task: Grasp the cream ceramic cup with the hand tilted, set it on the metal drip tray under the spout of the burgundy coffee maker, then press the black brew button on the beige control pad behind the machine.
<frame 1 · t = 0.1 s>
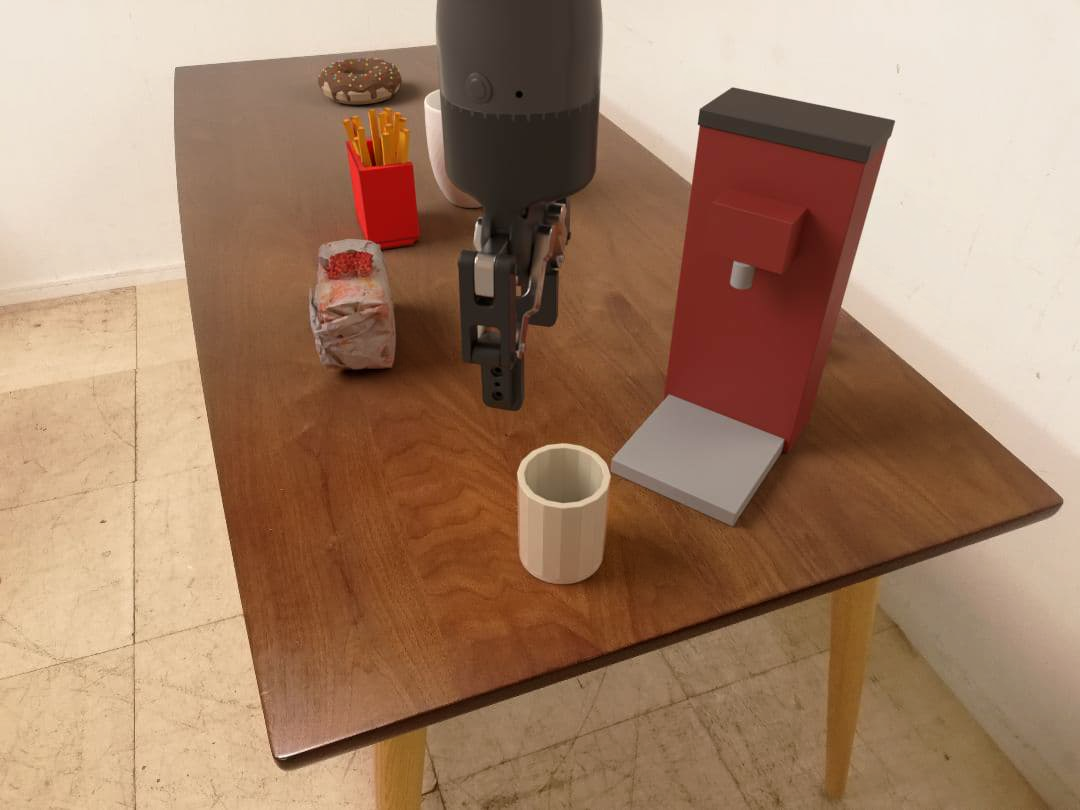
hand: (522, 361, 48), 19 cm above the table, tool pointing down, fingers open, 8 cm apart
cream cup: (561, 550, 62), on the table
food item: (358, 342, 83), on the table
donut: (364, 96, 141), on the table
brew pad: (749, 335, 84), on the table
coffee maker: (710, 444, 71), on the table
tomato: (488, 93, 142), on the table
mug: (474, 195, 110), on the table
brew button: (757, 297, 82), point 4 cm above the table, slide at 0.1 cm
french fries container: (389, 233, 102), on the table
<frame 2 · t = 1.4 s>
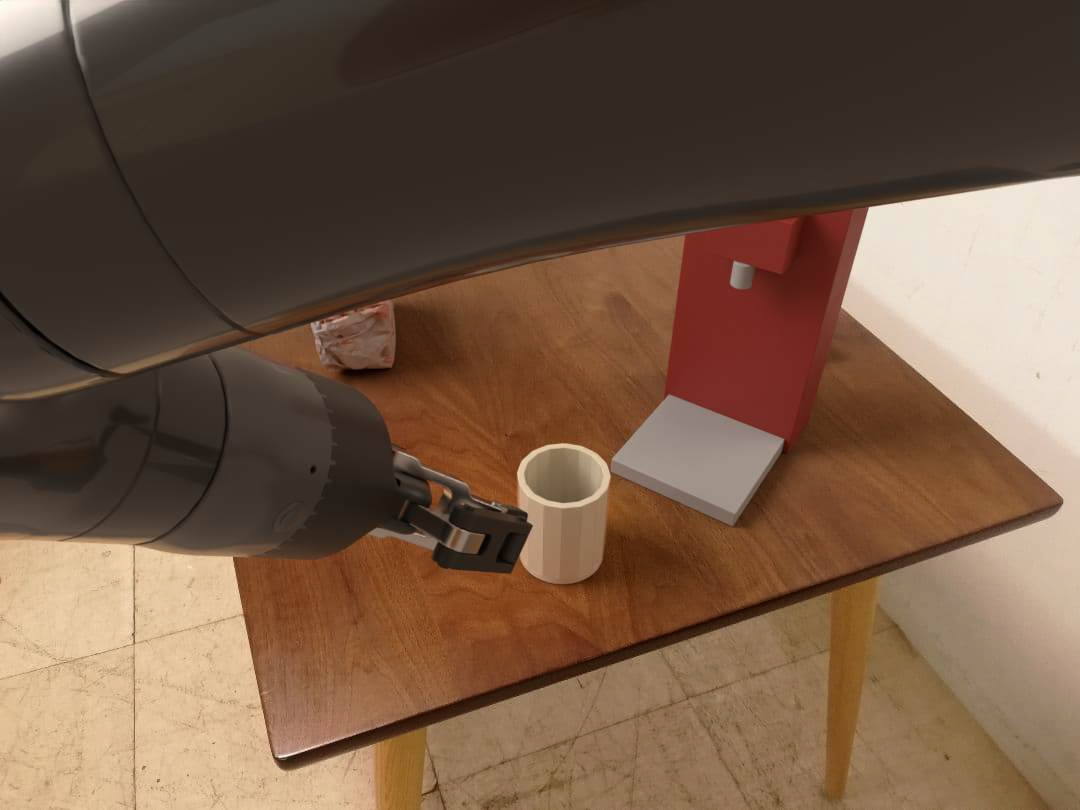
hand: (453, 495, 45), 15 cm above the table, tool tilted 45°, fingers open, 8 cm apart
nothing on the table moved.
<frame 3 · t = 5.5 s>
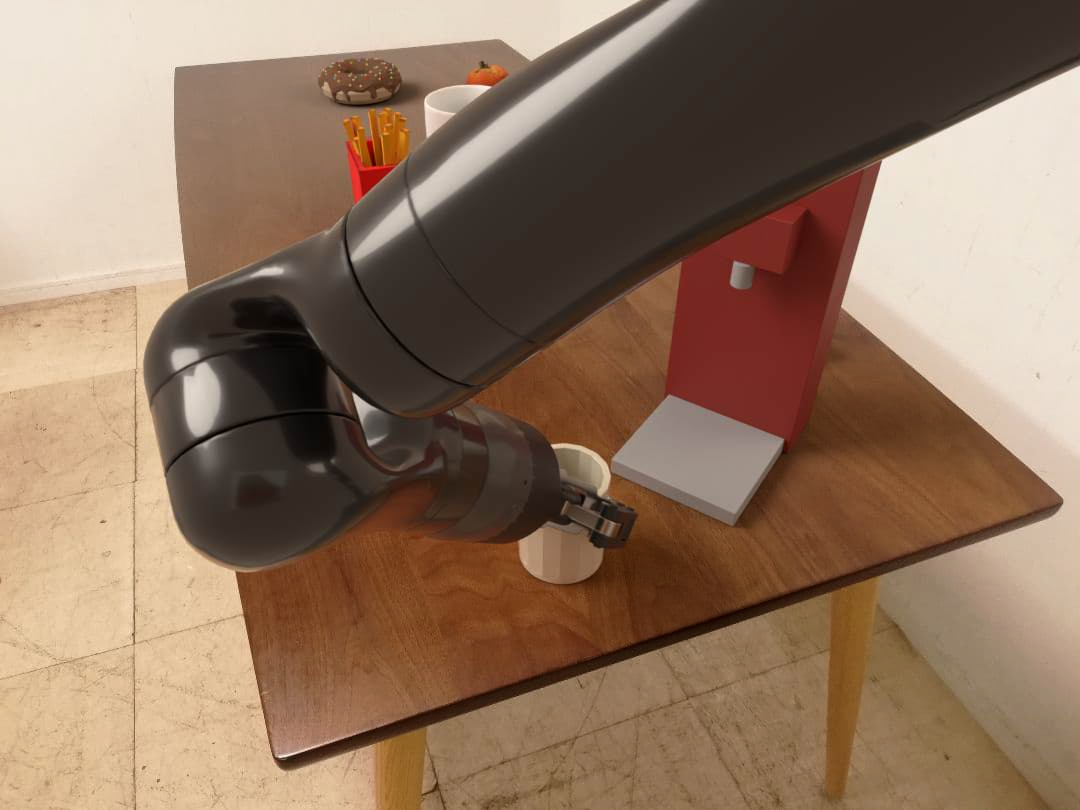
hand: (574, 496, 60), 4 cm above the table, tool tilted 45°, fingers closed on cream cup, 6 cm apart
cream cup: (561, 550, 62), on the table, touching gripper
everything else where it was.
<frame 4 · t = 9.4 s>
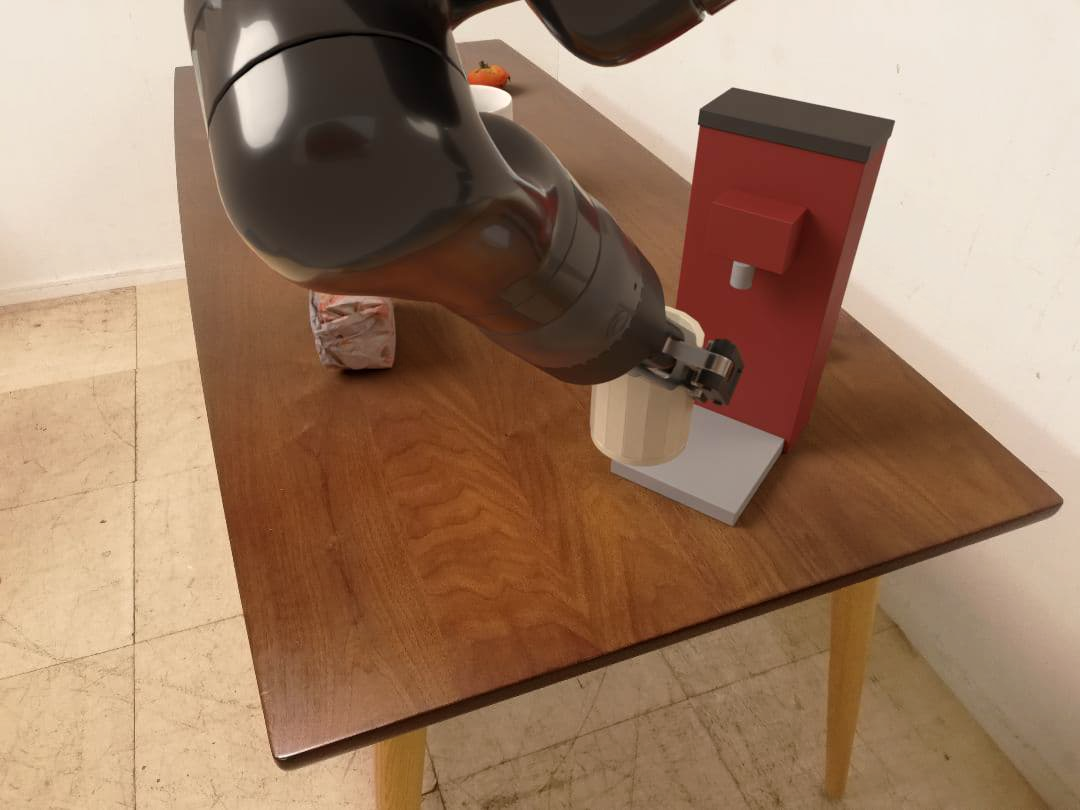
hand: (656, 367, 52), 17 cm above the table, tool tilted 45°, fingers closed on cream cup, 6 cm apart
cream cup: (638, 433, 54), point 12 cm above the table, touching gripper
everything else where it was.
when the fingers open (6 cm above the table, at t = 13.7 s): cream cup stays where it is, resting on coffee maker.
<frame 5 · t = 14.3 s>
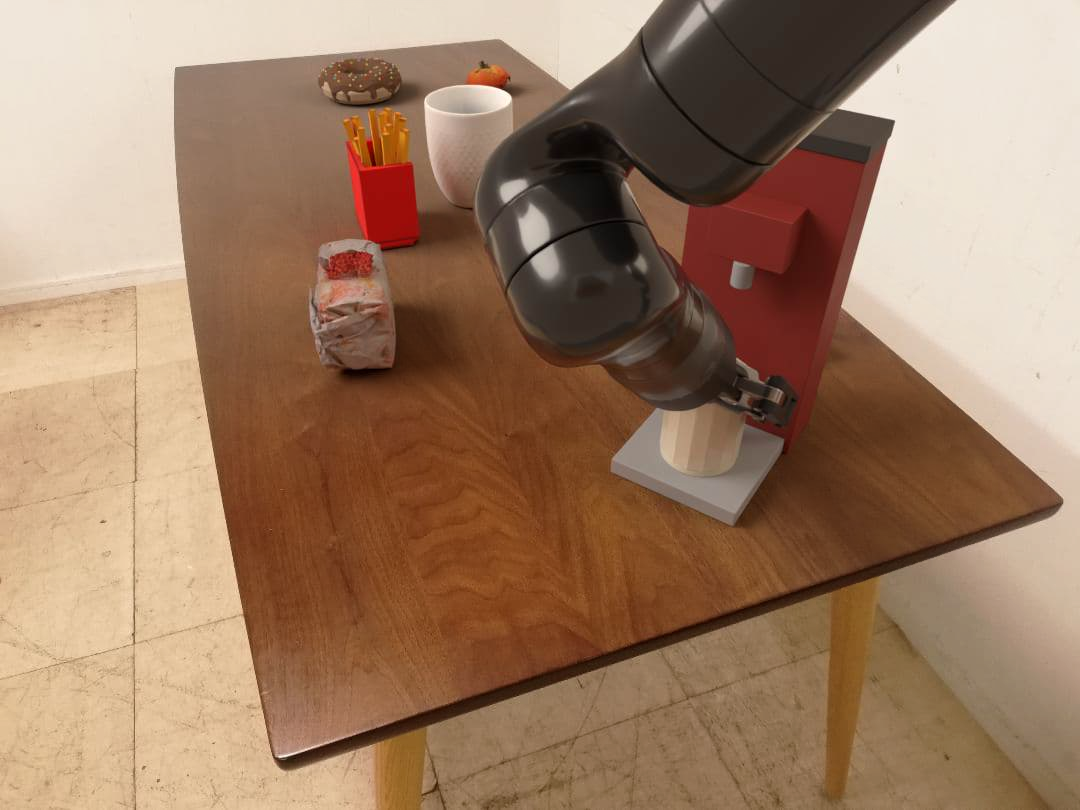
hand: (714, 391, 66), 7 cm above the table, tool tilted 45°, fingers open, 8 cm apart
cream cup: (698, 450, 68), point 1 cm above the table, touching coffee maker
everything else where it was.
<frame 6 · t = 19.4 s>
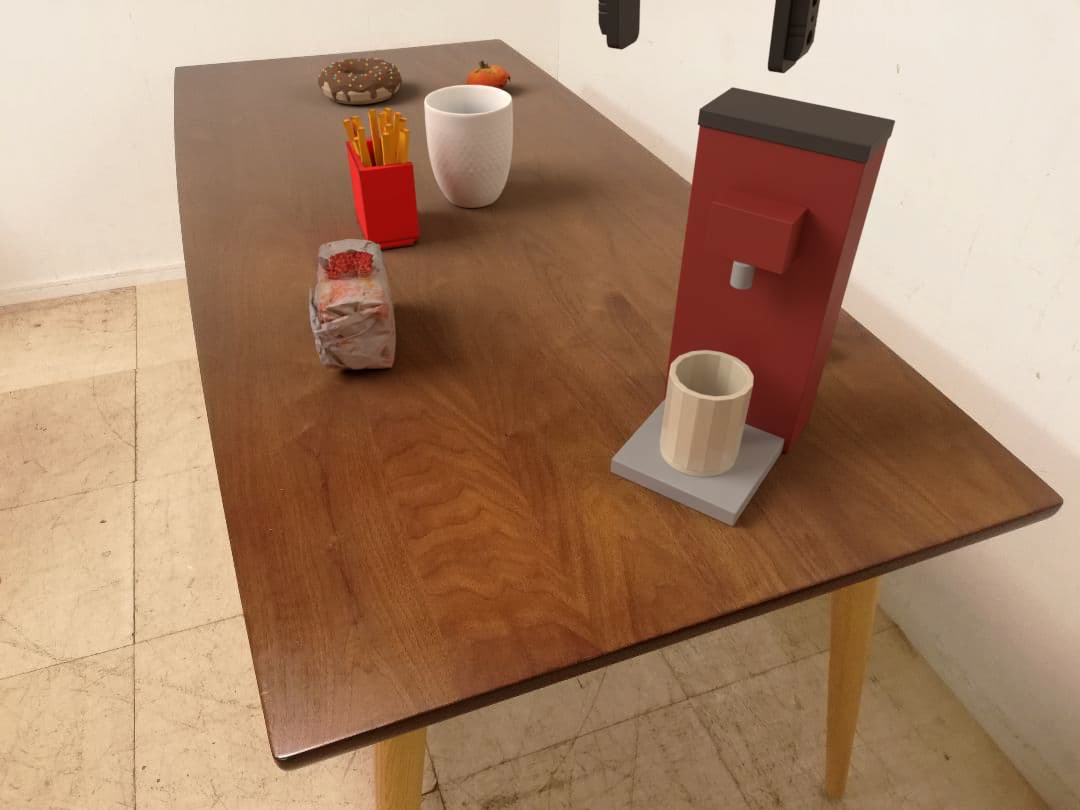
hand: (698, 55, 40), 36 cm above the table, tool pointing down, fingers open, 8 cm apart
nothing on the table moved.
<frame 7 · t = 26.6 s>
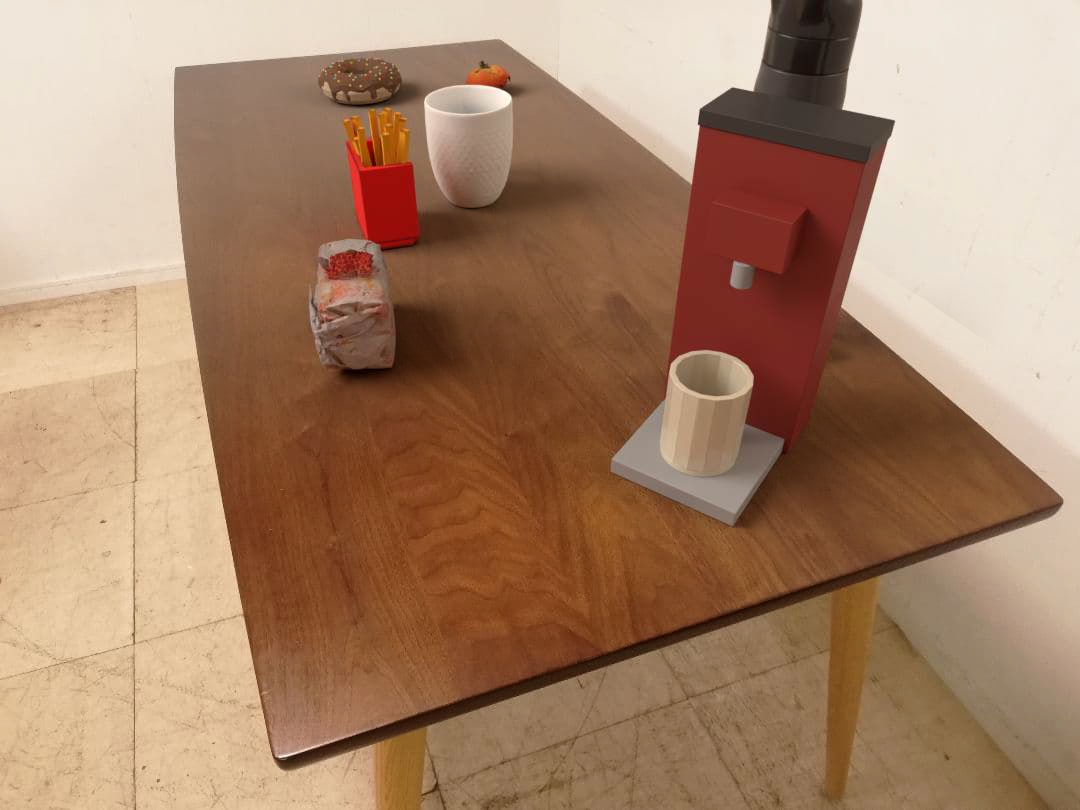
hand: (758, 291, 81), 5 cm above the table, tool pointing down, fingers closed
brew button: (756, 299, 82), point 4 cm above the table, slide at 0.0 cm, touching gripper
everything else where it was.
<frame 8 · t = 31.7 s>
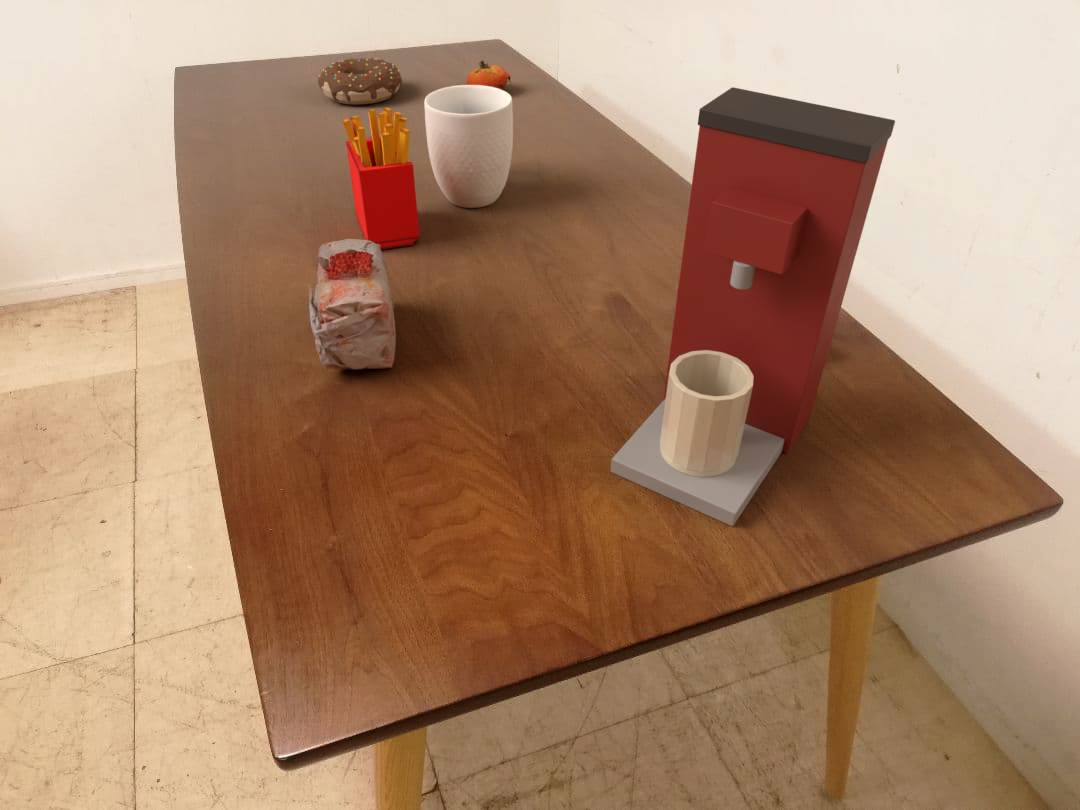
brew button: (757, 297, 82), point 4 cm above the table, slide at 0.1 cm
everything else where it was.
at the end: cream cup 0.0 cm from the target spot on the coffee maker, point 1.5 cm above the coffee maker's base; cream cup tilted 0°; brew button pushed in 1.1 cm at the most during the clip, back to where it started at the end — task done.
